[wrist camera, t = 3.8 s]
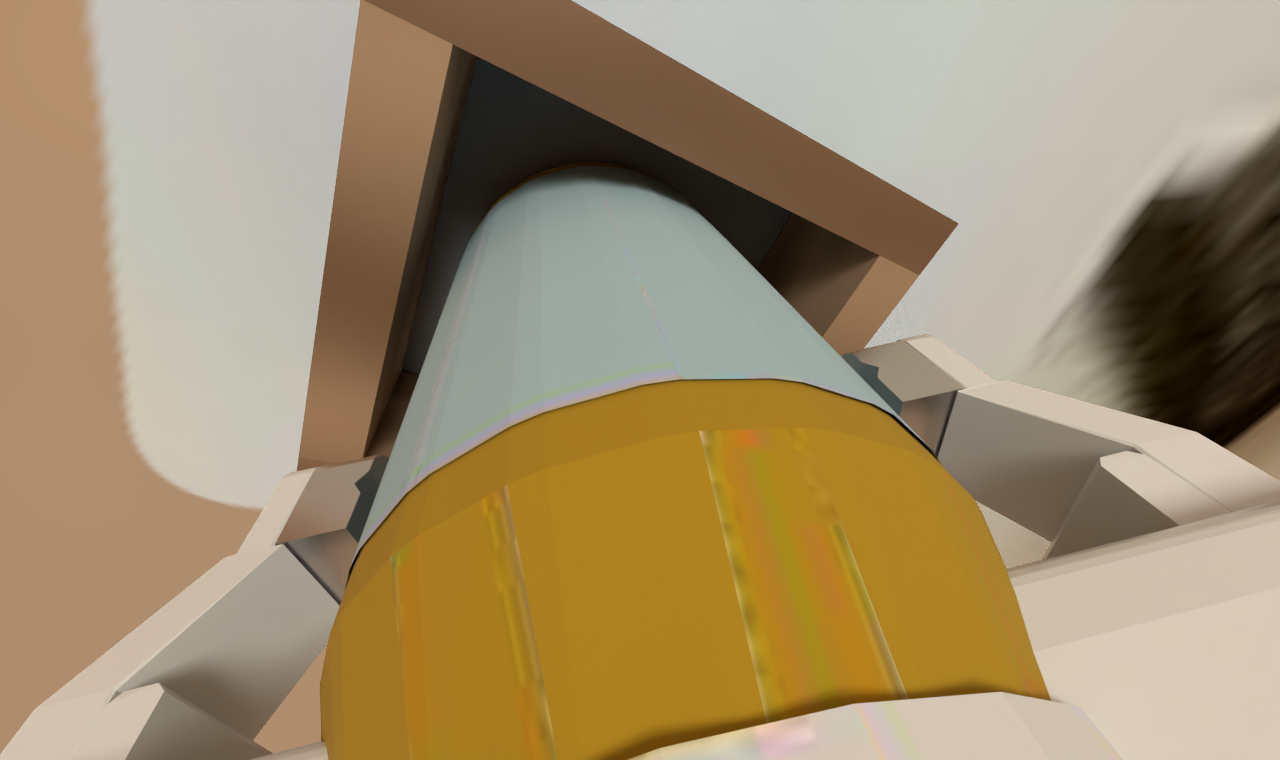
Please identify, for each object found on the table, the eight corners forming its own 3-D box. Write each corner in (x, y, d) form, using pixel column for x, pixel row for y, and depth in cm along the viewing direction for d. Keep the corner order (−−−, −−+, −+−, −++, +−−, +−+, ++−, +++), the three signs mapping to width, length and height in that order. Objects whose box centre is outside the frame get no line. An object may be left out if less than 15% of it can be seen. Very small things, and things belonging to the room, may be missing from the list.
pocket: (432, -57, 9) (375, -113, 6) (855, 180, 13) (958, 223, 10) (349, 392, 14) (293, 494, 11) (675, 465, 18) (704, 556, 15)
